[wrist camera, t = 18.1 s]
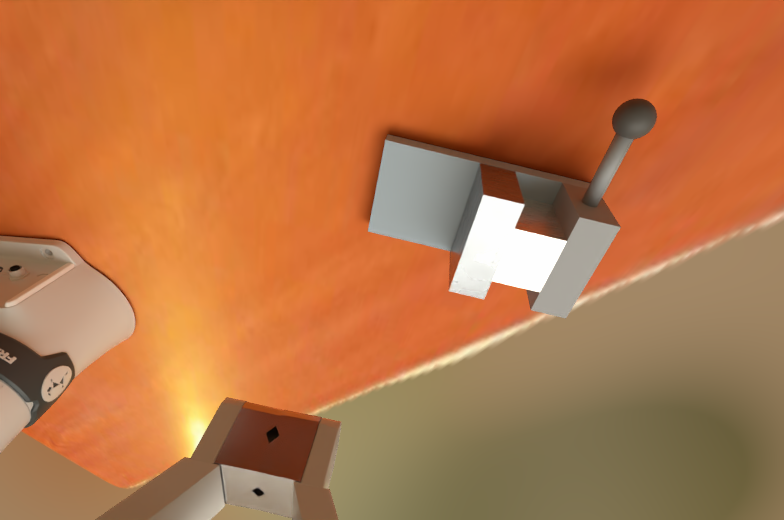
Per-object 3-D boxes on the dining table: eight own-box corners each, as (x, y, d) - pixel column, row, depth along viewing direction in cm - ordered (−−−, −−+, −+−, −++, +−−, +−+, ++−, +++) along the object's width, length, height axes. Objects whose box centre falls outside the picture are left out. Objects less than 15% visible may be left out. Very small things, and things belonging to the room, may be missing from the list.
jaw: (450, 251, 40) (448, 290, 35) (479, 163, 34) (483, 194, 29) (480, 259, 40) (484, 299, 35) (515, 171, 34) (524, 204, 30)
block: (487, 241, 39) (491, 280, 34) (506, 193, 36) (514, 228, 31) (529, 251, 39) (539, 292, 34) (552, 204, 36) (566, 241, 31)
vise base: (370, 223, 41) (354, 267, 35) (407, 32, 31) (395, 47, 25) (549, 266, 41) (565, 318, 35) (642, 89, 31) (686, 118, 25)
